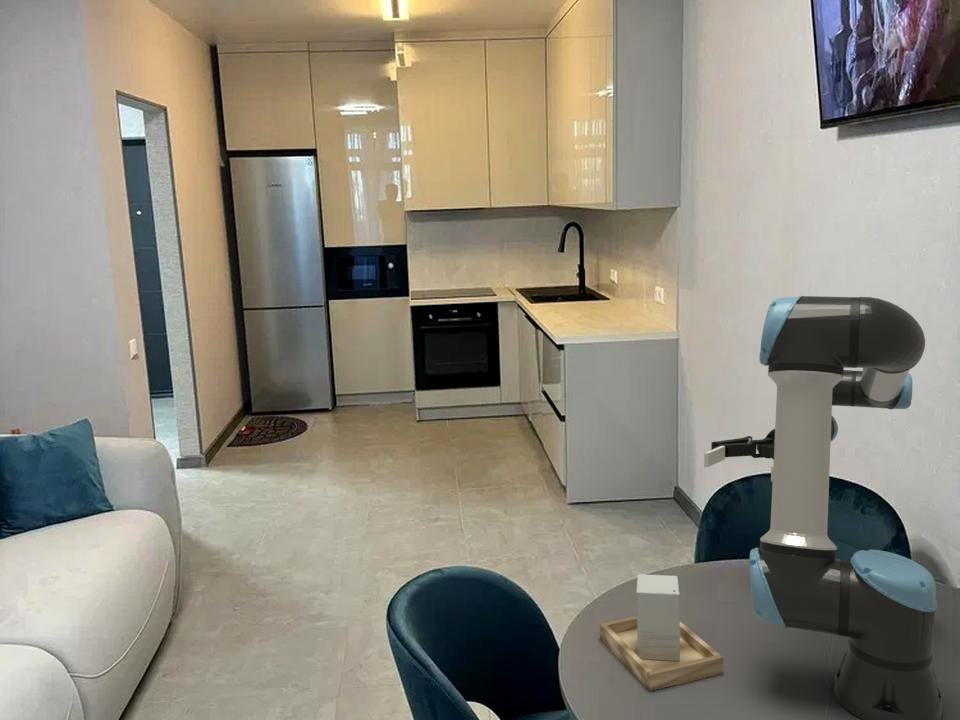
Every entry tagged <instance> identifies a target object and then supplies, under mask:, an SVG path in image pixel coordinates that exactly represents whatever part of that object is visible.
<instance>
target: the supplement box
mask: <svg viewBox="0 0 960 720" xmlns="http://www.w3.org/2000/svg"><path fill="white" fill-rule="evenodd" d="M636 576H637V577H636V589H635V591H636V592H635V595H636V616H637V641H638V657H639V658H640V659H655V660H670V661H680V622H681V606H680V605H681V599H680V598H681V593H680V585H679V579H678V576H677V575H667V574H666V575H663V574H662V575H661V574H642V573H638V574H637V575H636Z"/></svg>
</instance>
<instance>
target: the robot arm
mask: <svg viewBox="0 0 960 720" xmlns="http://www.w3.org/2000/svg"><path fill="white" fill-rule="evenodd" d="M761 333H762V334H761V338H760V350H759V363H760V364H761V365H763V366H765V367H766V366H768V367H767V368H768V370H767V371H768V372H767V373H768V374H767V376H768V377H769V378H770V379H771V380H772V381H773V382H774V383H775V385H776V404H775V422H774V423H775V425H774V426H775V427H774V428H773V429H771V430H770V431H769V432H768V433H767V434H766V437H765V438H762V439H753V436H751V435H747V436H744V437H740V438H733V439H725V440H719V441H711V449H710V450H709V451H706V452H704V453H703V454H704V455H703V466H704V467H705V468H709V467H712V466H713V465H715V464H718V463H720V462H722V461H725V460H726V458H739V457H751V458H753V459H762V458H765V459H766V460H767V459H772V461H773V465H772V466H771V467H770V469H771V470H770V471H771V472H770V482H772V487H771V488H772V489H771V492H772V493H771V510H770V528H769V530H768V531H766V533H765V534H764V535H762V536H761V537H760V539H759V547H755V548H752V549H751V550H750V552H749V578H750V579H749V580H750V581H749V582H750V591H751V592H750V593H751V598H752V606H753V611H754V612H755V615H756V617H757V618H758V620H760V621H761V622H764V623H766V624H771V625H775V626H779V627H780V626H781V627H783V628H785V629H788V628H793V629H798V630H804V631H810V632H814V633H815V632H816V633H823V634H827V635H829V634H830V635H835V636H841V637H846V638H848V646H847V649H846V651H845V653H844V655H843V657H842V660H841V662H840V665H839V667H838V669H837V671H836V672H835V677H834V685H833V686H834V690H833V691H834V695H835V698H836V700H837V701H838V703H839V704H840V705H841V706H843V708H844V709H845V710H847V712H850V713H851V714H852V715H853V716H856V717H857V718H860V719H861V720H941V719H942V715H943V703H944V702H943V701H944V700H943V696H942V692H941V690H940V689H939V687H938V682H937V677H936V673H935V670H934V667H933V651H934V636H935V635H934V634H935V632H934V631H935V616H936V615H935V614H936V611H937V609H938V602H937V584H936V581H935V578H934V576H933V575H932V574H931V572H930V571H929V570H928V569H926V568H925V567H924V566H923V565H921V564H919V563H917V562H916V561H914V560H912V559H910V558H908V557H905V556H902V555H901V554H898V553H895V552H889V551H884V550H881V549H868V550H867V549H866V550H864V549H862V550H857V551H856V552H854V553H853V556H852V557H850V560H846V559H839V558H837V555H838V554H837V553H838V552H837V551H838V546H837V545H835V543H834V542H833V541H832V540H831V539H830V538H829V535H828V516H829V515H828V514H829V495H830V493H829V492H830V490H829V489H830V470H831V469H830V466H831V464H830V462H831V443H832V442H833V441H834V440H835V439H836V438H837V436H838V433H839V432H838V431H839V426H838V423H837V421H836V419H835V418H834V416H833V415H832V414H833V413H832V412H833V406H837V407H856V408H857V407H859V408H873V409H874V408H875V409H888V410H897V409H898V410H906V409H908V408H910V407H911V404H912V400H913V378H912V375H911V374H910V373H909V371H910V370H911V369H913V368H914V367H915V366H917V364H918V363H919V362H920V360H921V359H922V357H923V354H924V352H925V349H926V338H925V332H924V331H923V328H922V326H921V325H920V323H919V322H918V321H917V319H916V318H914V317H913V315H912V314H910V313H909V312H907V310H905V309H904V308H902V307H900V306H899V305H897V304H894V303H892V302H891V301H887V300H884V299H882V298H877V297H871V296H855V297H854V296H853V297H852V296H819V295H818V296H814V295H813V296H812V295H809V296H808V295H807V296H806V295H798V296H790V297H778V298H775V299H774V300H773V301H772V302H770V304H769V306H768V309H767V311H766V315H765V319H764V324H763V328H762V332H761ZM845 368H847V369H845ZM858 368H860V369H862V370H850V369H858ZM757 452H758V453H757Z"/></svg>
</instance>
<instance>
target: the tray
mask: <svg viewBox="0 0 960 720" xmlns="http://www.w3.org/2000/svg"><path fill="white" fill-rule="evenodd" d="M599 640H601V642H603V644H604V645H605V646H606V647H607V648H608V649H609V650H610V651H611V653H613V654H614V655H615V656H616V657H617V659H618V660H619V661H620V662H621V663H622V664H623V665H624V666H625V667H626V668H627V670H629V671H630V673H632V674H633V675H634V676H635V677H636V678H637V680H638V681H639V682H640V683H641V684H642V685H643V686H644V687H645V688H646V689H647V690H648V692H650V691H651V692H654V691H653V690H655V691H658V690H657V689H659V690H662V688H663V689H666V688H665V687H667V688H670V687H669V686H671V687H674V686H673V685H675V686H679V685H683V684H687V683H692V682H695V681H698V680H699V681H700V680H703V679H706V677H707V678H711V677H715V676H718V675H722V674H723V673H724V657H723V656H722V655H721V654H720V653H719V652H717V651H716V650H715V649H714V648H713V647H712V646H710V645H709V644H708V643H706V642H705V641H704V640H703V639H702V638H701V637H700V636H698V635H697V634H696V633H695V632H693V631H692V629H690V628H689V627H688V626H686V625H685V624H684V623H683V622H681V621H680V661H670V660H655V659H640V658H639V657H638V641H637V615H634V616H630V617H625V618H621V619H617V620H611V621H610V620H609V621H606V622H602V623H601V622H600V623H599Z"/></svg>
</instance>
